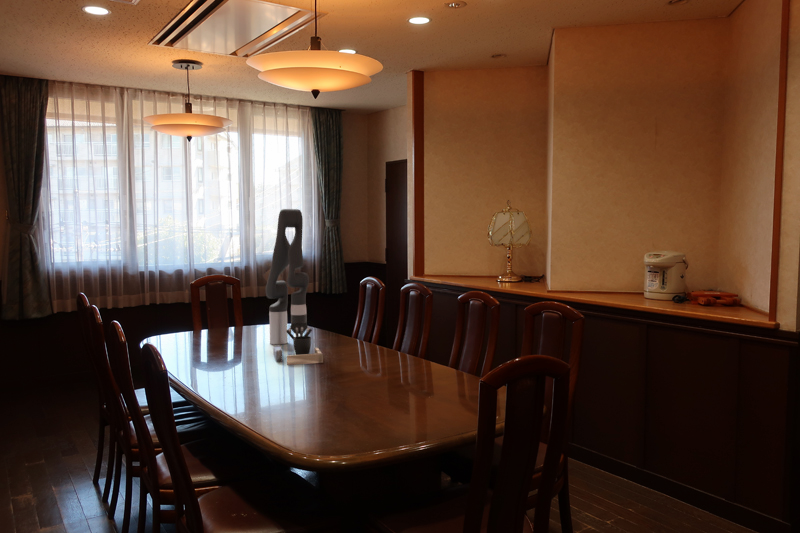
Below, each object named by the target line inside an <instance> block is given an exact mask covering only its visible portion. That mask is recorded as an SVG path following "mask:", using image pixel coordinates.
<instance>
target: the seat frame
mask: <svg viewBox="0 0 800 533" xmlns="http://www.w3.org/2000/svg"><path fill="white" fill-rule="evenodd" d="M323 356H324V353H322V351H321V350H320V349H319V348H318V347H314V353H309V354H302V355H296V354H288V355H287V354H286V365H287V366H292V365H305V364H307V365H308V364H309V365H310V364H318V363H319V364H321V363H323V362H324V361H323V360H324V357H323Z"/></svg>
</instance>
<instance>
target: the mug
mask: <svg viewBox="0 0 800 533" xmlns="http://www.w3.org/2000/svg"><path fill="white" fill-rule="evenodd" d="M292 341H293V349H294V353H295V354H294V355H302V354H310V352H311V347H312V346H311V345H312V337H311V336H309V335H308V336H304V335H303V336H300V335H299V336H297V337H296V336H294V338H293V339H292Z"/></svg>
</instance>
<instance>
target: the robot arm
mask: <svg viewBox="0 0 800 533" xmlns="http://www.w3.org/2000/svg"><path fill="white" fill-rule="evenodd" d="M277 220H278V221H277V229H276V236H275V243H274V246H273V253H272V258H271V265H270V270H269V274H268V278H267V280H266V285H265V295H266V298H267V299H273V300H275V299H277V301H276V302H275V303H272V304H271V305H270V306H269V309H268V311H269V313H268V316H269V344H270V345H275V346H276V345H284V344H285V345H286V344H287V343H288V336H289V337H290V338H291V340H293V338H294V337H297V336H309V335H310V334H311V333H312V331H313V329H312V328H310V327H309V326H308V324H307V322H308V321H307V319H308V318H307V305H306V304H307V302H306V295H307V291H308V288H309V283H310V276H309V274H308V273H307V272H296V270H299V269H302V268H303V267H304V264H305V263H304V256H303V255H304V254H303V228H304V227H303V226H304V225H303V224H304V222H303V221H304V220H303V212H302V211H301V209H297V208H282V209H281V210H280V211H279V214H278V219H277ZM287 228H294V235H293V239H292V241H291V243H290V242H289V240H288V237H287V235H286V232H287ZM287 267H288V273H287V277H286V278H287V279H286V281H285V280H278V279H279V277H280V275H281V274H282V273H283V272H284V271H285V270H286V269H287ZM289 287H290V288H291V289H292V288H299V290H297V291H294V292H292V293H291V295H290V299H291V300H290V326H289V327H288V304H289V301H288V298H289V296H288V295H289ZM305 331H306V332H305ZM292 333H293V334H295V336H294V335H293V334H292Z"/></svg>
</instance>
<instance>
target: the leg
mask: <svg viewBox="0 0 800 533" xmlns="http://www.w3.org/2000/svg"><path fill="white" fill-rule="evenodd" d="M276 350H282V347H281V344H278V345H276V344H275V345H273V356H274V360H275V361H277V358H276Z"/></svg>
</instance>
